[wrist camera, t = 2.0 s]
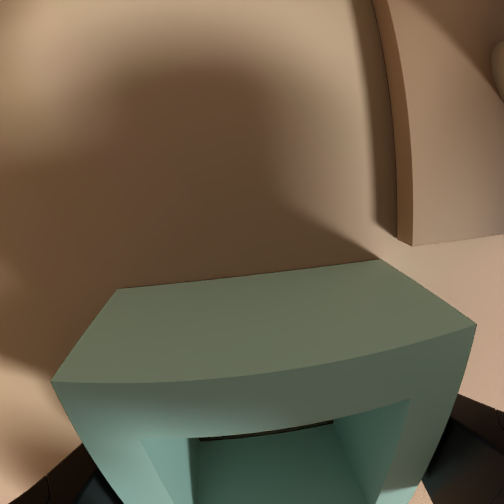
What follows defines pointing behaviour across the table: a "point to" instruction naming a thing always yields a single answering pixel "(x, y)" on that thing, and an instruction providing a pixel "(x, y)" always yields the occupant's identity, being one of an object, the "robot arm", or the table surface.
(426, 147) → the square base with peg
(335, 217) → the table surface
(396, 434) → the teal square frame
